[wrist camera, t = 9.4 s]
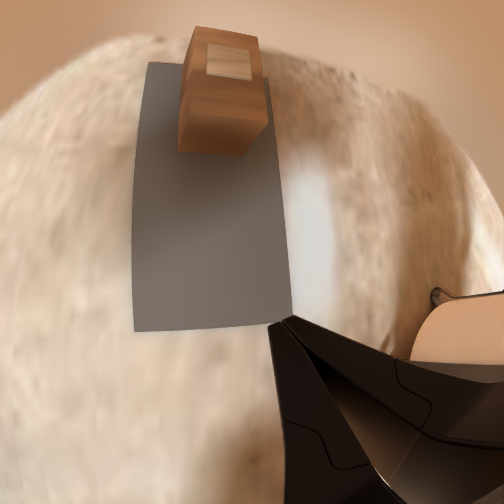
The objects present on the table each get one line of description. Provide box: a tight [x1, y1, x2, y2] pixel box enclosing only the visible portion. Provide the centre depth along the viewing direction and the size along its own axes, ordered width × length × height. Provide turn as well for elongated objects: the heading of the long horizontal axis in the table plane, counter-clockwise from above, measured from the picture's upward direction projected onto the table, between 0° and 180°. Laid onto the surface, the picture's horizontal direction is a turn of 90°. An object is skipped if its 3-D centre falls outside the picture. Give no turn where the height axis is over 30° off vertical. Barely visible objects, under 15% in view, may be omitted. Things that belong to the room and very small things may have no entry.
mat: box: [132, 62, 293, 332], centre depth 20 cm, size 20×10×1 cm, turn 4°
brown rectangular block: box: [178, 26, 268, 157], centre depth 19 cm, size 5×5×8 cm
